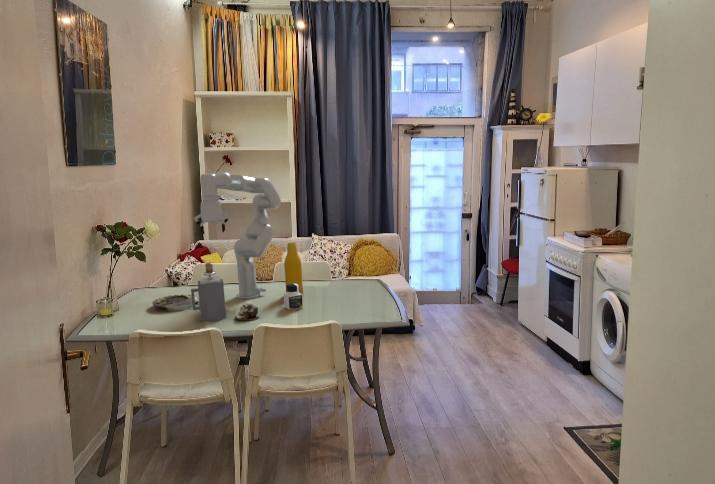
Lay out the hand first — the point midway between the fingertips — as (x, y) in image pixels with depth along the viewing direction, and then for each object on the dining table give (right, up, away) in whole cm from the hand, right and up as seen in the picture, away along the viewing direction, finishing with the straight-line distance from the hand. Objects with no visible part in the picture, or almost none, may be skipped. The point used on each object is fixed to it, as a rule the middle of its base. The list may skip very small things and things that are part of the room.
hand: (213, 233), depth 275 cm
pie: (-23, -39, +11) cm, 46 cm away
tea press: (+2, -41, -12) cm, 43 cm away
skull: (+20, -41, -13) cm, 47 cm away
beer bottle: (+38, -33, +24) cm, 56 cm away
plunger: (+3, -37, -12) cm, 39 cm away
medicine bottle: (+40, -37, 0) cm, 55 cm away
